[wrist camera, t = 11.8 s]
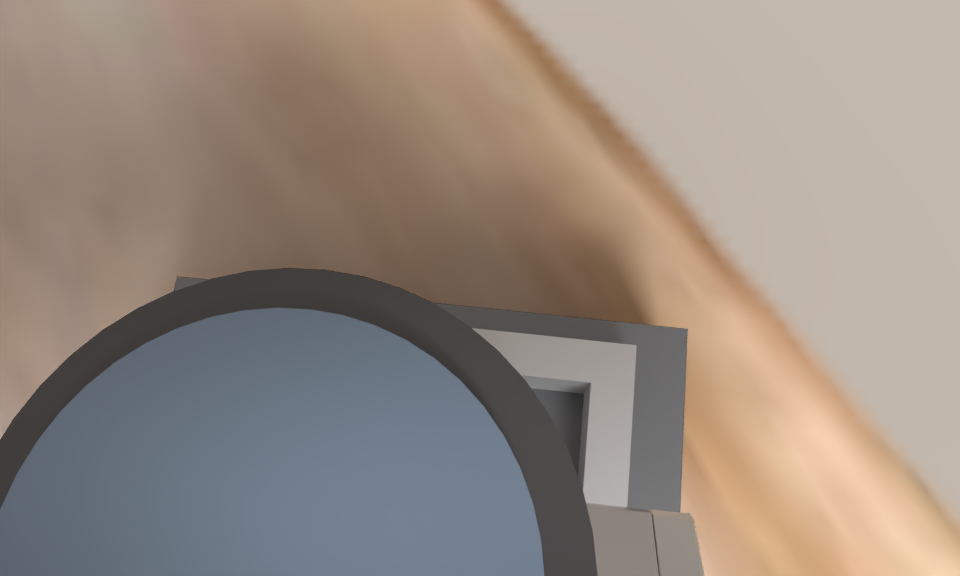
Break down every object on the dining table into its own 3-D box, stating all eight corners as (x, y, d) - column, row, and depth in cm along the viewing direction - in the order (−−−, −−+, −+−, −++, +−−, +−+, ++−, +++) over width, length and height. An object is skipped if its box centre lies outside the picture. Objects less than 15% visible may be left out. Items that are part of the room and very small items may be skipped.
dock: (123, 762, 19) (21, 824, 15) (217, 309, 23) (153, 257, 18) (638, 829, 19) (681, 913, 15) (662, 356, 22) (702, 313, 18)
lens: (253, 675, 15) (-198, 942, 5) (302, 403, 17) (15, 214, 7) (526, 713, 15) (583, 1067, 5) (553, 433, 16) (639, 282, 6)
